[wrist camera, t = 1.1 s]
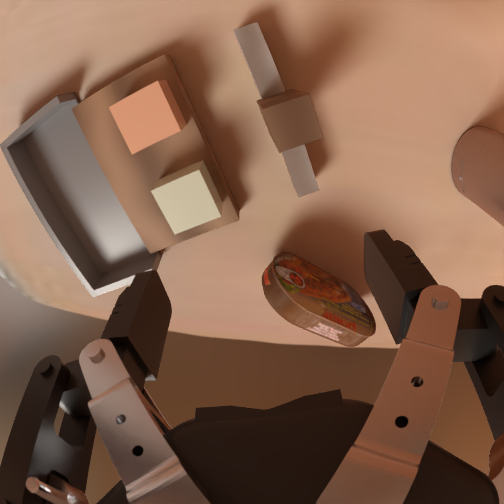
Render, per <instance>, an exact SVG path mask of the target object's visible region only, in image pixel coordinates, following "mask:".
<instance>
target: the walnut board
mask: <svg viewBox="0 0 504 504" xmlns="http://www.w3.org/2000/svg"><path fill="white" fill-rule="evenodd" d="M160 80H167V83H168V85H169V87H170V89H171V91H172V93H173V96H174V98H175V100H176V102H177V104H178V107H179V109H180V111H181V113H182V115H183V118H184V120H185V122H186V124H187V125H186V126H185V127H184V128H183V129H182V130H181V131H180V132H177V133H175V134H173V135H171V136H169V137H167V138H165V139H162V140H160V141H158V142H156V143H154V144H152V145H150V146H148V147H146V148H144V149H142V150H140V151H138V152H136V153H134V154H131V152H130V150H129V148H128V146H127V144H126V142H125V140H124V138H123V136H122V134H121V132H120V130H119V128H118V126H117V123H116V121H115V119H114V117H113V115H112V113H111V111H110V109H109V107H110V106H112V105H114V104H115V103H117V102H119V101H121V100H122V99H124V98H126V97H128V96H130V95H131V94H133V93H135V92H137V91H139V90H141V89H142V88H144V87H146V86H148V85H150V84H152V83H154V82H156V81H160ZM72 111H73V113H74V115H75V117H76V119H77V122H78V124H79V126H80V128H81V130H82V132H83V134H84V136H85V138H86V140H87V142H88V144H89V146H90V148H91V150H92V152H93V154H94V156H95V158H96V159H97V161H98V163H99V165H100V167H101V169H102V171H103V173H104V175H105V176H106V178H107V180H108V182H109V184H110V186H111V187H112V189H113V191H114V193H115V195H116V196H117V198H118V200H119V202H120V203H121V205H122V207H123V209H124V210H125V212H126V214H127V216H128V217H129V219H130V221H131V223H132V224H133V226H134V228H135V229H136V231H137V233H138V234H139V236H140V238H141V239H142V241H143V243H144V244H145V246H146V247H147V249H148V251H149V252H150V254H151V253H154V252H156V251H159V250H162V249H164V248H167V247H169V246H172V245H174V244H177V243H180V242H182V241H185V240H187V239H190V238H193V237H195V236H198V235H201V234H203V233H206V232H209V231H211V230H214V229H217V228H219V227H222V226H225V225H227V224H230V223H233V222H235V221H238V220H239V210H238V207H237V205H236V203H235V201H234V198H233V196H232V194H231V192H230V190H229V187H228V185H227V183H226V181H225V178H224V176H223V174H222V172H221V169H220V167H219V165H218V163H217V160H216V158H215V156H214V154H213V151H212V149H211V147H210V145H209V143H208V140H207V138H206V136H205V134H204V131H203V129H202V127H201V125H200V123H199V120H198V118H197V116H196V114H195V111H194V109H193V107H192V105H191V102H190V100H189V98H188V96H187V94H186V91H185V89H184V87H183V85H182V83H181V80H180V78H179V76H178V74H177V71H176V69H175V67H174V65H173V63H172V60H171V58H170V56H169V55H165V54H164V55H162V56H160V57H158V58H156V59H154V60H152V61H150V62H148V63H146V64H144V65H142V66H140V67H138V68H137V69H135V70H133V71H131V72H129V73H128V74H126V75H124V76H122V77H121V78H119V79H117V80H115V81H114V82H112V83H110V84H109V85H107V86H105V87H104V88H102V89H101V90H99V91H97V92H96V93H94V94H93V95H91V96H90V97H88V98H87V99H85V100H84V101H82V102H81V103H79V104H78V105H76V106H75V107H73V108H72ZM202 160H203V161H204V163H205V165H206V168H207V170H208V172H209V174H210V176H211V178H212V181H213V183H214V185H215V187H216V189H217V191H218V193H219V196H220V198H221V200H222V202H223V205H222V215H221V217H219V218H216V219H214V220H211V221H208V222H206V223H203V224H201V225H198V226H195V227H193V228H190V229H188V230H185V231H183V232H180V233H177V234H174V232H173V231H172V229H171V227H170V225H169V223H168V222H167V220H166V218H165V216H164V214H163V213H162V211H161V209H160V207H159V205H158V203H157V201H156V200H155V198H154V196H153V194H152V192H151V190H152V189H153V187H154V186H155V184H156V183H157V181H158V180H159V179H161V178H163V177H165V176H167V175H169V174H172V173H174V172H176V171H178V170H181V169H183V168H185V167H188V166H190V165H192V164H195V163H197V162H199V161H202Z"/></svg>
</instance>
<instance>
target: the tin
mask: <svg viewBox="0 0 504 504" xmlns="http://www.w3.org/2000/svg"><path fill="white" fill-rule="evenodd" d="M262 286H263V290H264V294H265V297H266V299H267V300H268V302H269V303H270V305H271V306H272V307H273V309H274V310H275V311H276V312H277V313H278V314H279V315H280V316H282V317H283V318H284V319H285V320H287V321H288V322H290V323H291V324H293V325H296V326H298V327H300V328H303V329H305V330H307V331H310V332H312V333H314V334H317V335H319V336H322V337H324V338H327V339H329V340H332V341H334V342H337V343H339V344H342V345H345V346H348V347H354V346H357V345H359V344H360V343H362V342H363V341H364V340H366V339H367V338H368V337H370V336H372V335H373V334H374V333H375V330H376V323H375V319H374V317H373V314H372V312H371V311H370V309H369V307H368V306H367V304H366V303H365V301H364V300H363V299H362V298H361V296H360V295H359V294H358V293H357V292H356V291H355V290H354V289H352V288H351V287H350V286H349V285H347V284H346V283H344V282H342V281H340V280H339V279H337V278H335V277H333V276H332V275H330V274H328V273H326V272H324V271H323V270H321V269H319V268H317V267H316V266H314V265H312V264H310V263H308V262H307V261H305V260H303V259H301V258H299V257H297V256H295V255H292V254H288V253H281V254H278V255H276V256H275V257H274V259H273V261H272V262H271V263H270V264H269V266H268V267H267V268H266V269H265V271H264V272H263V275H262Z"/></svg>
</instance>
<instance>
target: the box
mask: <svg viewBox="0 0 504 504" xmlns="http://www.w3.org/2000/svg"><path fill="white" fill-rule="evenodd" d="M78 104H79V101H78V99H77V97H76V94H75V92H73V93H68V94H64V95H59V96H56V97H55V98H54V99H52V100H51V101H50V102H48V103H47V104H46V105H45V106H43V107H42V108H41V109H40V110H38V111H37V112H36V113H35V114H34V115H32V116H31V117H30V118H29V119H28V120H27V121H25V122H24V123H23V124H22V125H21V126H20V127H19V128H18V129H16V130H15V131H14V132H13V133H12V134H11V135H10V136H9V137H8V138H7V139H6V140H5V141H4V142H3V143H2V144H1V145H0V147H1V149H2V151H3V153H4V155H5V157H6V160H7V162H8V164H9V166H10V168H11V170H12V171H13V173H14V175H15V177H16V179H17V181H18V183H19V185H20V187H21V188H22V190H23V192H24V194H25V196H26V197H27V199H28V201H29V203H30V204H31V206H32V208H33V210H34V211H35V213H36V215H37V216H38V218H39V220H40V221H41V223H42V225H43V226H44V228H45V229H46V231H47V233H48V234H49V236H50V237H51V239H52V240H53V242H54V243H55V245H56V246H57V248H58V249H59V251H60V252H61V254H62V255H63V257H64V258H65V260H66V261H67V263H68V264H69V265H70V267H71V268H72V270H73V271H74V273H75V274H76V275H77V277H78V278H79V279H80V281H81V282H82V283H83V285H84V286H85V288H86V289H87V290H88V291H89V293H90V294H91V295H92V297H96V296H98V295H101V294H104V293H107V292H109V291H112V290H115V289H117V288H120V287H123V286H126V285H128V284H131V283H132V281H133V279H134V277H135V275H136V273H139V272H144V271H150V270H156V271H157V269H158V266H159V263H160V260H161V258H162V256H161V254H160V252H159V251H156V252H154V253H151V254H150V252H149V251H148V249H147V247H146V246H145V244H144V243H143V241H142V239H141V238H140V236H139V234H138V233H137V231H136V229H135V228H134V226H133V224H132V223H131V221H130V219H129V217H128V216H127V214H126V212H125V210H124V209H123V207H122V205H121V203H120V202H119V200H118V198H117V196H116V195H115V193H114V191H113V189H112V187H111V186H110V184H109V182H108V180H107V178H106V176H105V175H104V173H103V171H102V169H101V167H100V165H99V163H98V161H97V159H96V158H95V156H94V154H93V152H92V150H91V148H90V146H89V144H88V142H87V140H86V138H85V136H84V134H83V132H82V130H81V128H80V126H79V124H78V122H77V119H76V117H75V115H74V113H73V111H72V108H73V107H75V106H76V105H78Z"/></svg>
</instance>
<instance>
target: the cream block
mask: <svg viewBox="0 0 504 504" xmlns="http://www.w3.org/2000/svg"><path fill="white" fill-rule="evenodd" d="M151 192H152V194H153V196H154V198H155V200H156V201H157V203H158V205H159V207H160V209H161V211H162V213H163V214H164V216H165V218H166V220H167V222H168V223H169V225H170V227H171V229H172V231H173V232H174V234H177V233H180V232H183V231H185V230H188V229H190V228H193V227H195V226H198V225H201V224H203V223H206V222H208V221H211V220H214V219H216V218H219V217H221V215H222V205H223V202H222V200H221V198H220V196H219V193H218V191H217V189H216V187H215V185H214V183H213V181H212V178H211V176H210V174H209V172H208V170H207V168H206V165H205V163H204V161H203V160H202V161H199V162H197V163H195V164H192V165H190V166H188V167H185V168H183V169H181V170H178V171H176V172H174V173H172V174H169V175H167V176H165V177H163V178H161V179H159V180H158V181H157V183H156V184H155V186H154V187H153V189H152V190H151Z"/></svg>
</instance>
